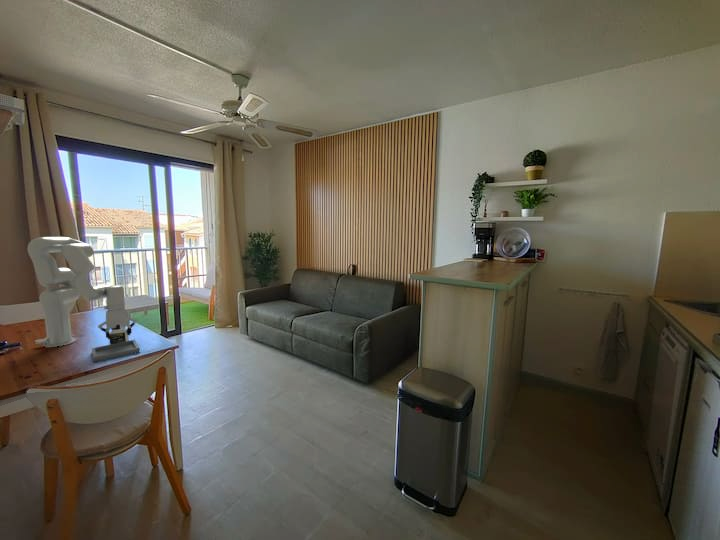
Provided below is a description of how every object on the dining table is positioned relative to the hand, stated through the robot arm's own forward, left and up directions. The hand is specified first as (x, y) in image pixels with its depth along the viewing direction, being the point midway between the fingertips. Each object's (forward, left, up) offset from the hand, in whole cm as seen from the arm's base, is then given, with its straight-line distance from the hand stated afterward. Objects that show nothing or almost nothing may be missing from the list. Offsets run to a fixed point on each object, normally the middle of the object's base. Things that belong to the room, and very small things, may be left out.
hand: (119, 336), depth 165 cm
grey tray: (-3, -16, -4) cm, 17 cm away
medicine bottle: (0, 0, -4) cm, 4 cm away
